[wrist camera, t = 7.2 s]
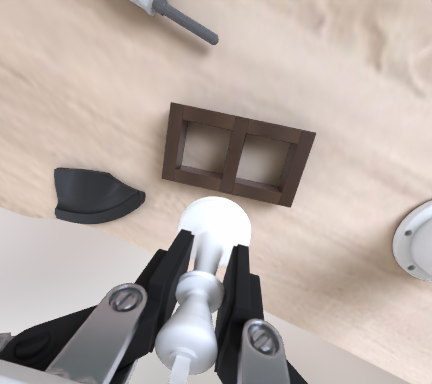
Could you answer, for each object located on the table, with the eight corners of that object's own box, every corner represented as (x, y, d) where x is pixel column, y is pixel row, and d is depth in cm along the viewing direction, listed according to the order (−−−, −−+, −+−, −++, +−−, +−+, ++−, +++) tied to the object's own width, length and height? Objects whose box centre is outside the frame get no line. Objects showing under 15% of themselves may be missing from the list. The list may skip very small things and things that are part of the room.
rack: (308, 132, 26) (316, 132, 23) (285, 199, 28) (290, 207, 26) (178, 105, 26) (170, 102, 23) (168, 173, 29) (161, 178, 26)
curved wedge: (145, 228, 32) (140, 233, 31) (64, 215, 33) (55, 220, 32) (145, 177, 30) (140, 180, 28) (58, 165, 30) (48, 167, 29)
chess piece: (260, 206, 13) (315, 410, 4) (240, 268, 15) (242, 527, 5) (186, 188, 13) (52, 336, 4) (174, 251, 15) (58, 469, 5)
